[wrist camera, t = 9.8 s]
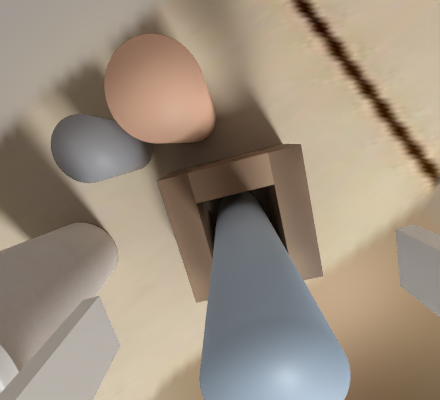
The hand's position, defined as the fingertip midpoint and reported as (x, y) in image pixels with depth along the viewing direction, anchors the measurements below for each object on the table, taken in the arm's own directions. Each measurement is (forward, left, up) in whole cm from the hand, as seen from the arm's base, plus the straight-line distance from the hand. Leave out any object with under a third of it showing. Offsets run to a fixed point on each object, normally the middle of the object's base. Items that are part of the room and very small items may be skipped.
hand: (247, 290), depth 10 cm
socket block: (0, 0, -12) cm, 12 cm away
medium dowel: (-2, +9, -12) cm, 15 cm away
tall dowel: (0, 0, -12) cm, 12 cm away
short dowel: (-8, +8, -12) cm, 16 cm away
